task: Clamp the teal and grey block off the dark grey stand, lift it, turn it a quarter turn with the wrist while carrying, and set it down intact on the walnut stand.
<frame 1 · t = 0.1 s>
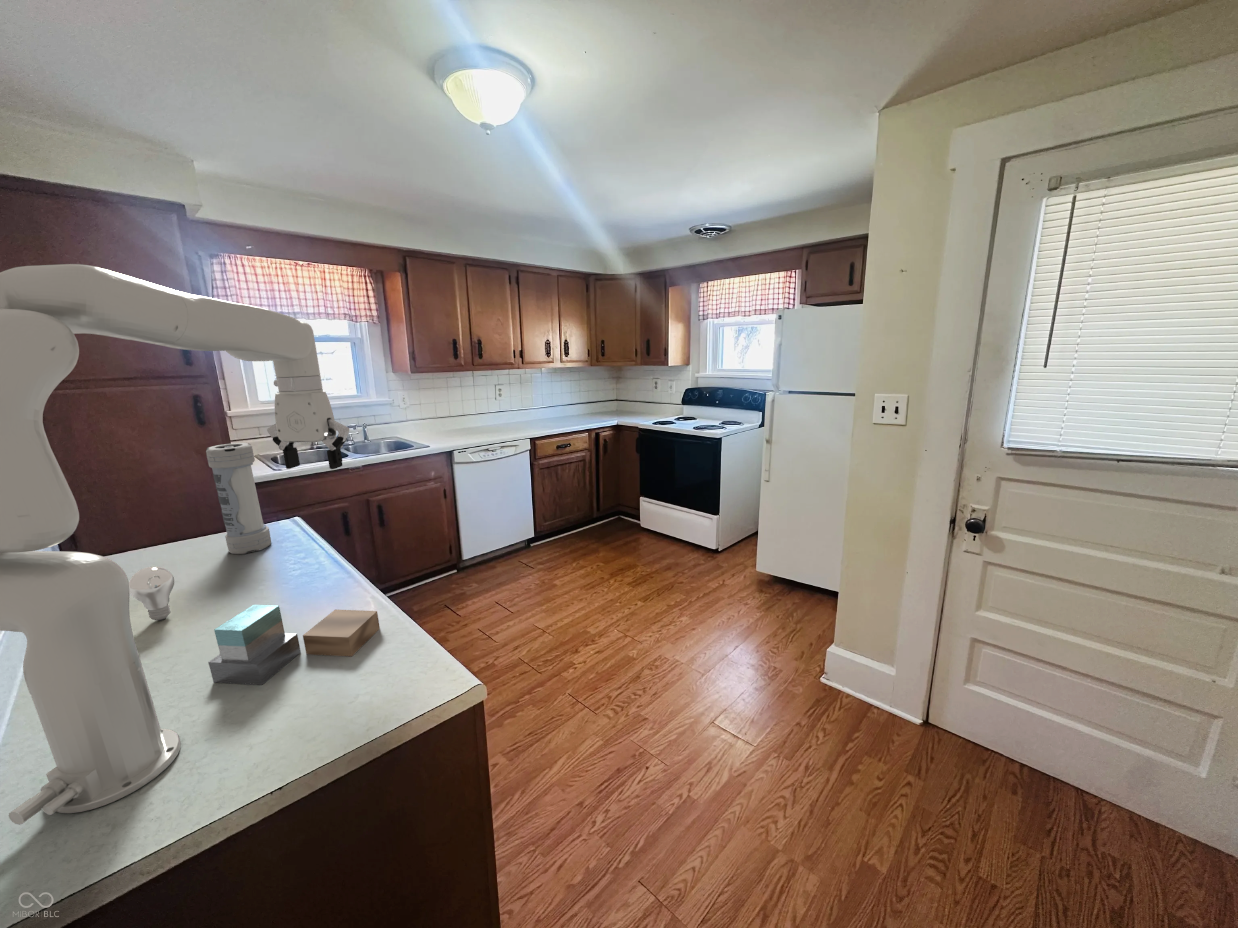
hand: (314, 467, 101), 31 cm above the counter, fingers open, 9 cm apart
teal and grey block: (254, 647, 85), point 4 cm above the counter, touching stand a
light bulb: (162, 620, 102), on the counter
canister: (250, 548, 139), on the counter
stand a: (259, 666, 86), on the counter
stand b: (344, 640, 94), on the counter
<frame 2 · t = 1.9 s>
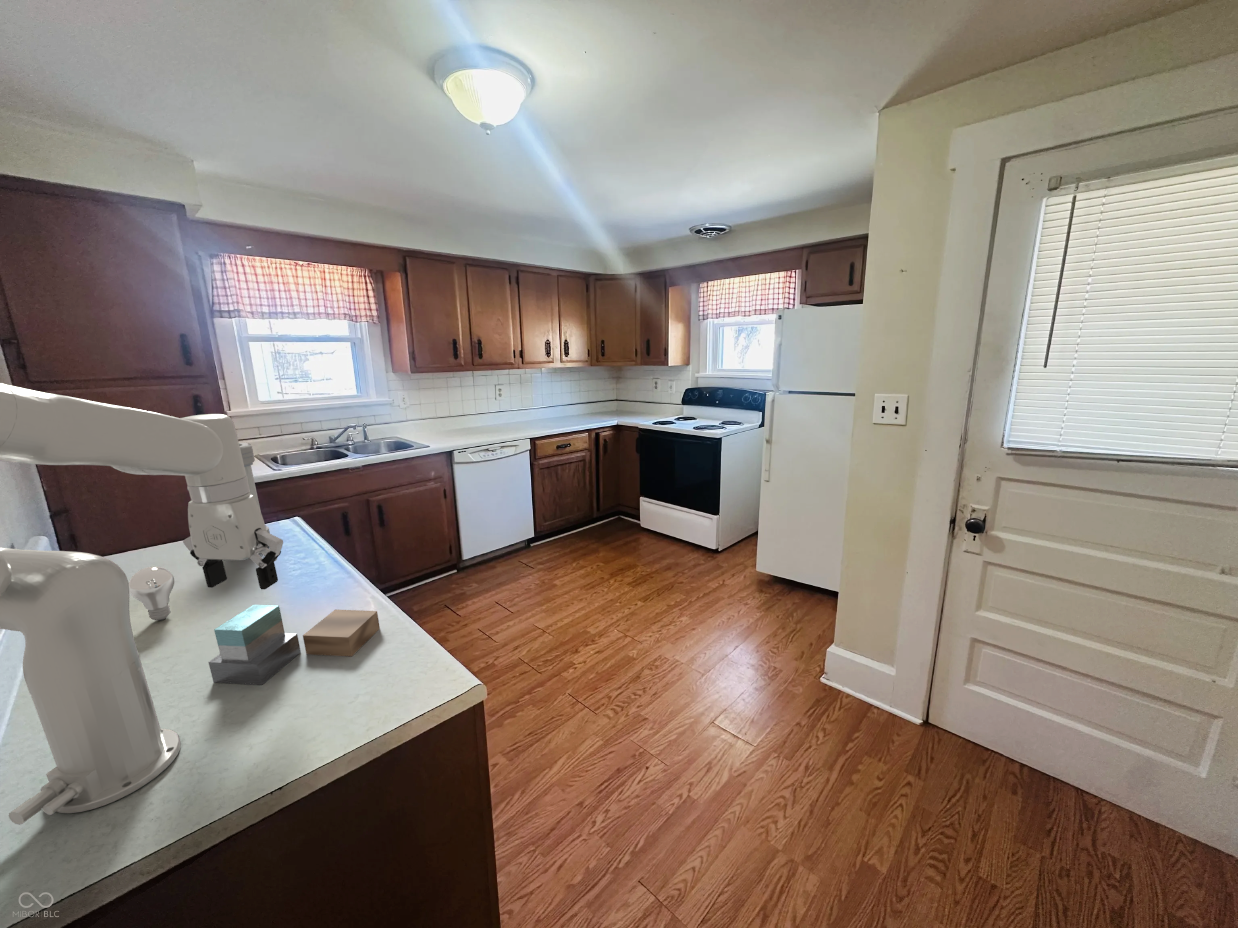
hand: (243, 584, 83), 16 cm above the counter, fingers open, 9 cm apart
nothing on the counter moved.
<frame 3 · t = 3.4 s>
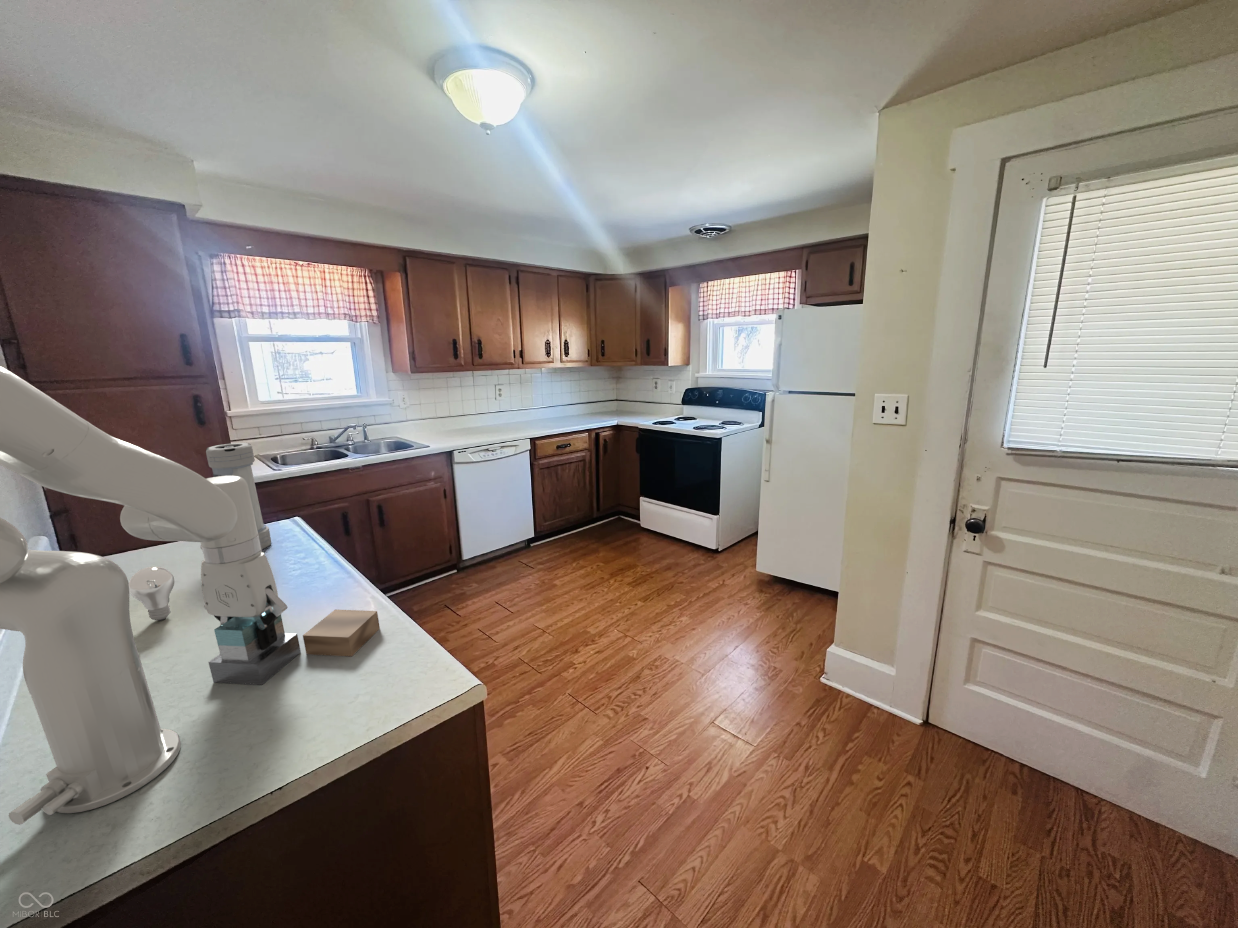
hand: (253, 643, 85), 5 cm above the counter, fingers closed on teal and grey block, 5 cm apart
teal and grey block: (254, 647, 85), point 4 cm above the counter, touching gripper, stand a
everything else where it was.
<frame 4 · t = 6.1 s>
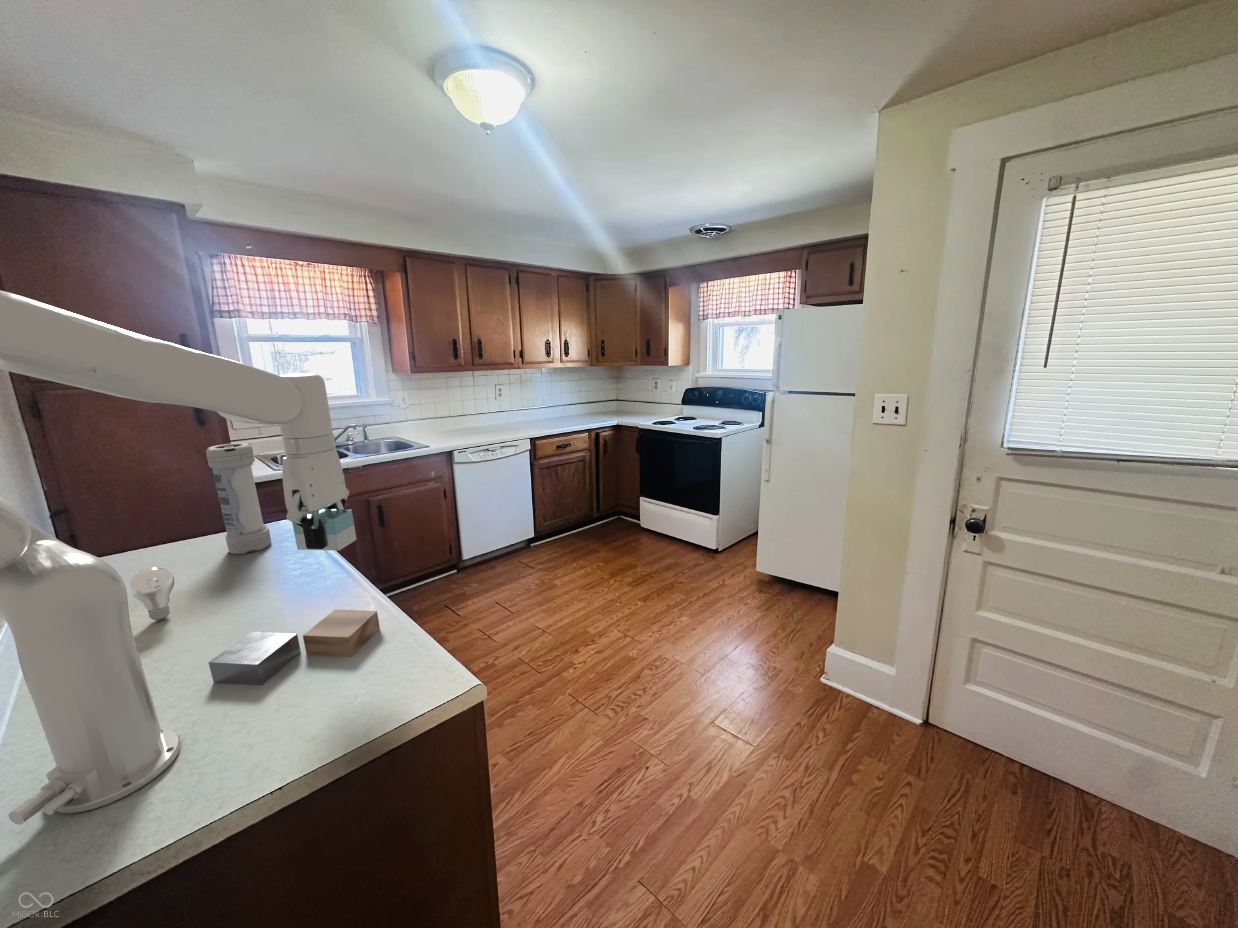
hand: (326, 540, 89), 21 cm above the counter, fingers closed on teal and grey block, 5 cm apart
teal and grey block: (327, 544, 89), point 20 cm above the counter, touching gripper
everything else where it was.
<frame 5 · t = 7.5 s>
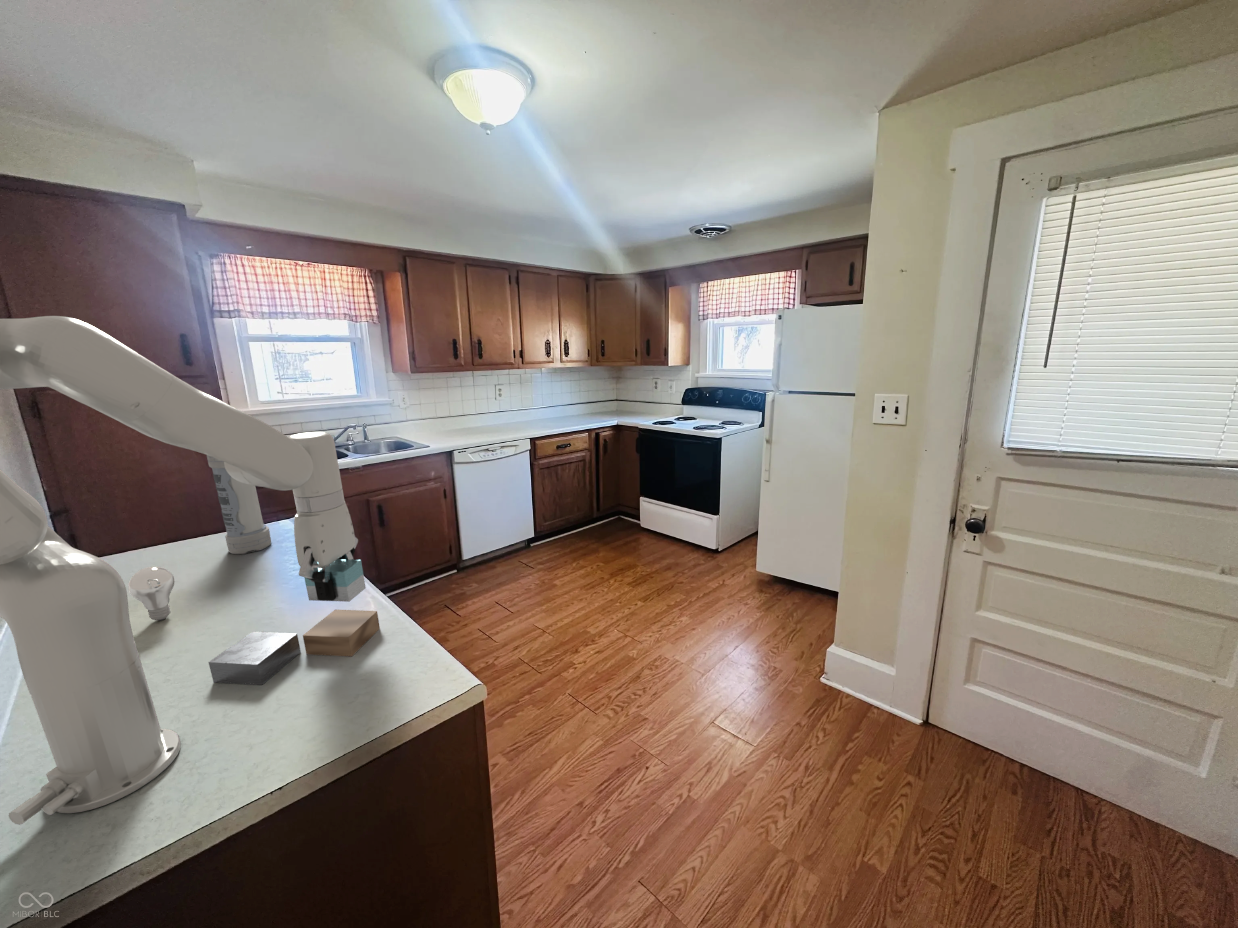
hand: (337, 590, 91), 11 cm above the counter, fingers closed on teal and grey block, 5 cm apart
teal and grey block: (338, 594, 91), point 10 cm above the counter, touching gripper
everything else where it was.
when the fingers open (6 cm above the counter, at t = 8.7 s): teal and grey block drops 1 cm, resting on stand b.
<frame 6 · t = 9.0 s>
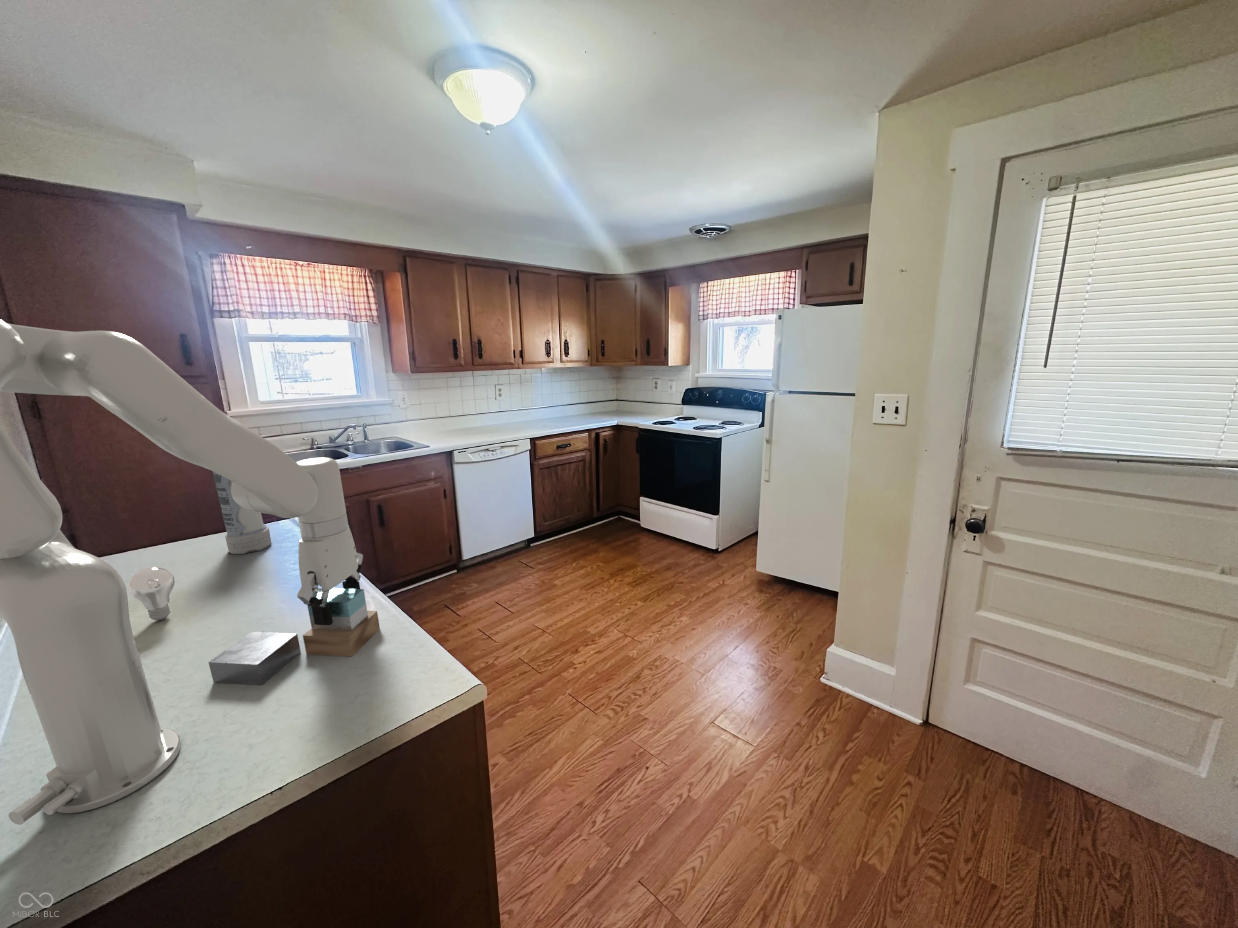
hand: (339, 611, 92), 6 cm above the counter, fingers open, 8 cm apart
teal and grey block: (340, 623, 93), point 4 cm above the counter, touching stand b
everything else where it was.
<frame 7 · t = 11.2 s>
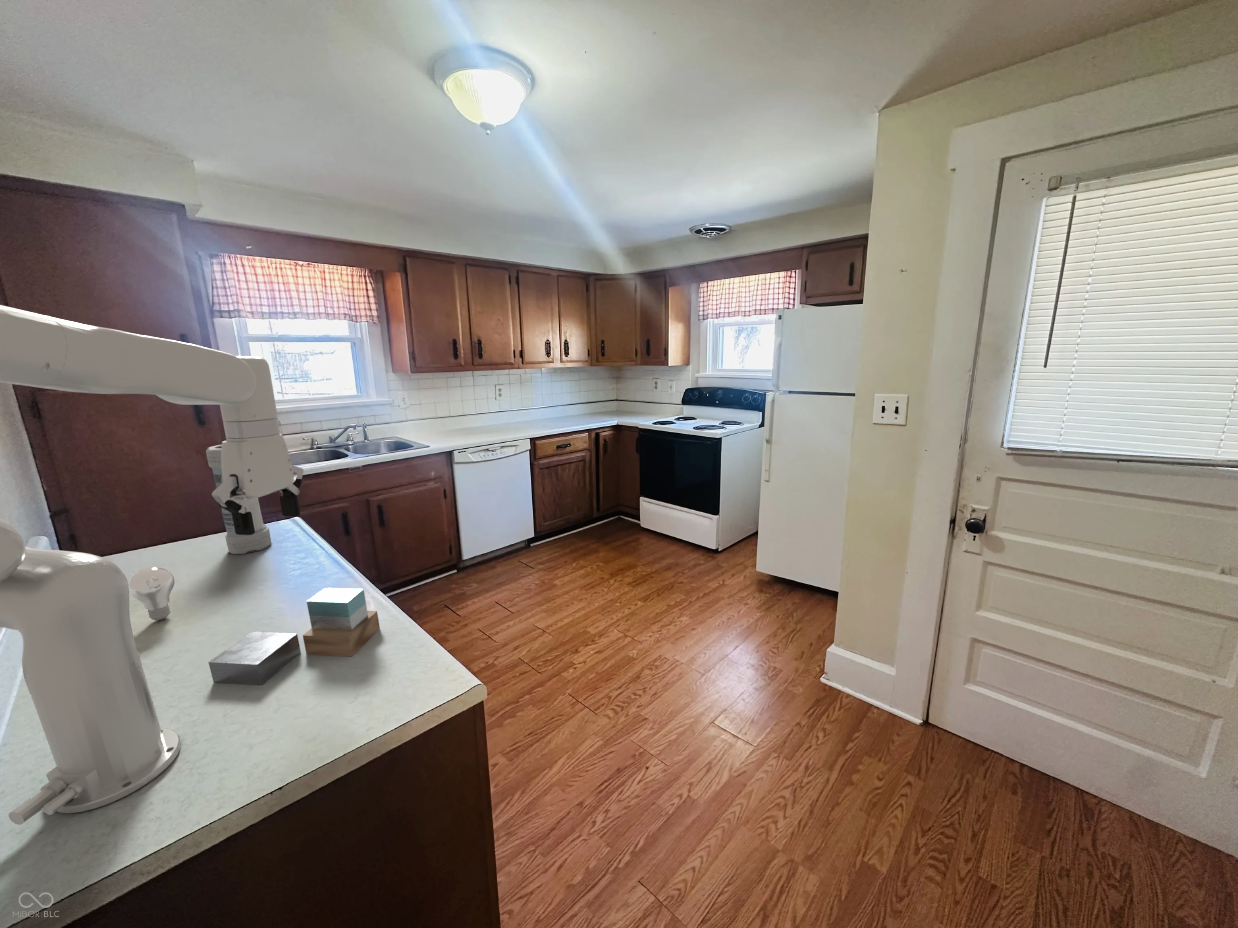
hand: (269, 524, 86), 25 cm above the counter, fingers open, 9 cm apart
nothing on the counter moved.
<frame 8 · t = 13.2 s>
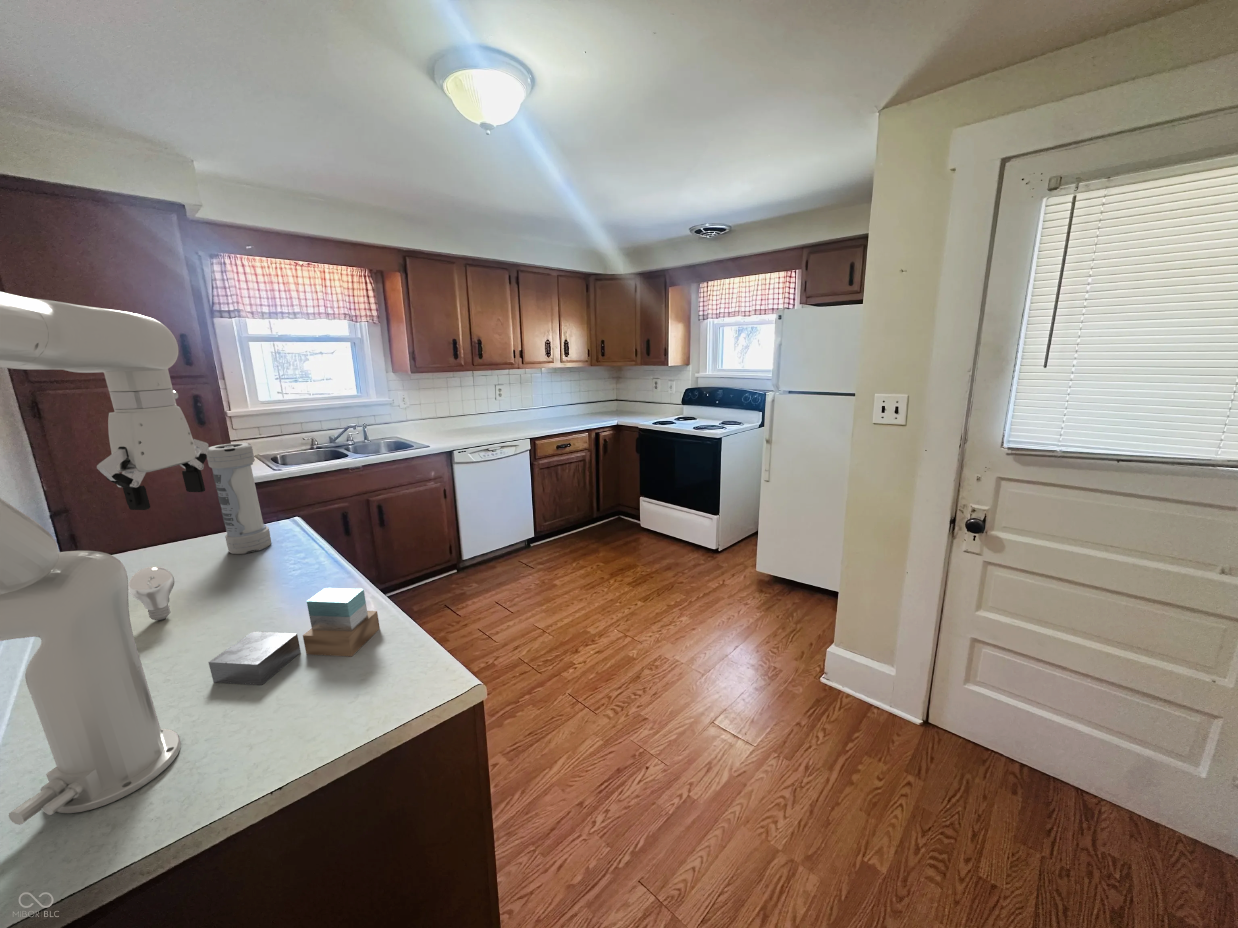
hand: (169, 500, 83), 30 cm above the counter, fingers open, 9 cm apart
nothing on the counter moved.
at the end: teal and grey block 0.2 cm off-centre on the stand b, point 4.0 cm above the stand b's base; teal and grey block tilted 0°; the gripper is holding nothing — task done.
